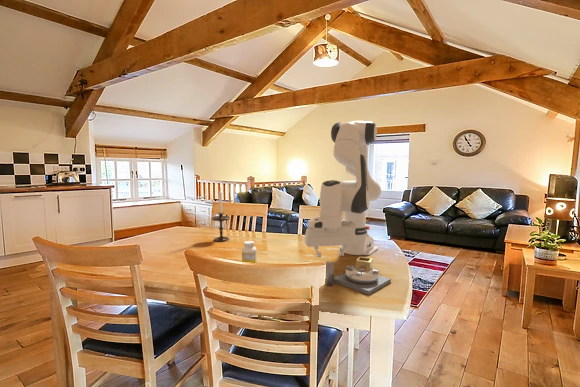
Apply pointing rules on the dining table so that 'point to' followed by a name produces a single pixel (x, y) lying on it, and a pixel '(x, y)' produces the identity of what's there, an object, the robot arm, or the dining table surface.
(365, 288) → the base
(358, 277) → the grey round chuck
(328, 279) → the steel pin
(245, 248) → the supplement bottle
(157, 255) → the dining table surface
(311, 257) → the dining table surface
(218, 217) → the candlestick
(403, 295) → the dining table surface
